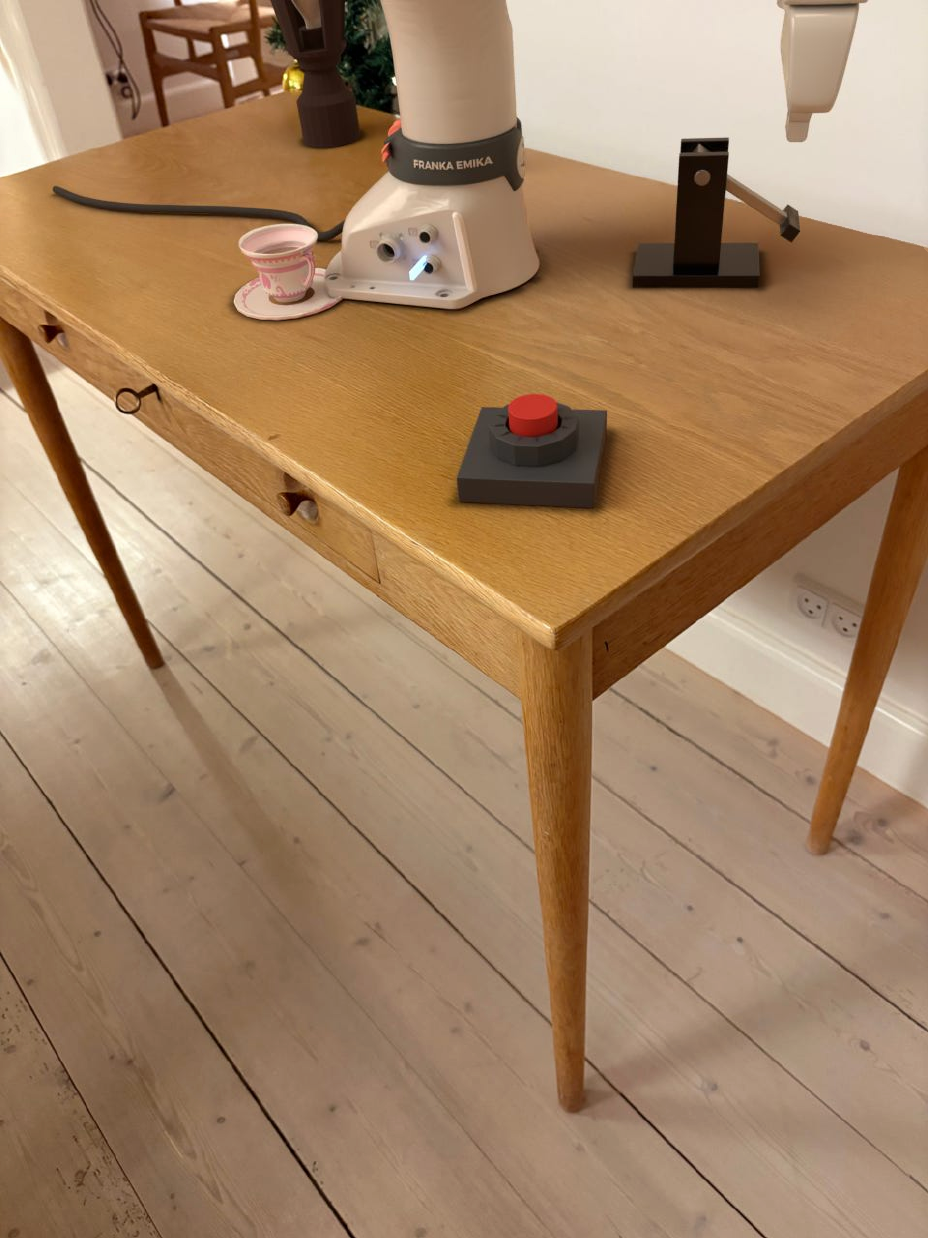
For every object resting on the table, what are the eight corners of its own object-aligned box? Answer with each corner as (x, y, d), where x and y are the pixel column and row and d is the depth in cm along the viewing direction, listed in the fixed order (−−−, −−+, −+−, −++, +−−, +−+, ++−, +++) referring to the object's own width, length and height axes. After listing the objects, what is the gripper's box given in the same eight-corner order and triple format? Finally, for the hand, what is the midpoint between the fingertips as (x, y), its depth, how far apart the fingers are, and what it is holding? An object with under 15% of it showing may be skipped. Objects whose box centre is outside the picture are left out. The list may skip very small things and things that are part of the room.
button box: (459, 502, 75) (454, 456, 72) (483, 430, 82) (479, 386, 79) (594, 508, 73) (594, 461, 70) (607, 434, 80) (607, 389, 77)
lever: (785, 227, 99) (802, 206, 97) (787, 247, 95) (804, 226, 94) (683, 160, 97) (699, 138, 95) (681, 179, 93) (697, 155, 92)
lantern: (387, 147, 139) (352, -122, 119) (280, 161, 138) (227, -106, 118) (379, 116, 150) (346, -134, 130) (280, 129, 149) (231, -120, 129)
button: (505, 438, 74) (504, 417, 73) (513, 413, 77) (512, 392, 76) (554, 440, 73) (553, 419, 72) (560, 414, 76) (560, 393, 75)
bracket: (757, 253, 103) (770, 130, 95) (758, 287, 97) (772, 159, 89) (637, 254, 105) (641, 134, 97) (632, 287, 99) (635, 162, 92)
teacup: (211, 305, 105) (195, 247, 101) (297, 264, 111) (285, 207, 107) (286, 333, 99) (273, 271, 95) (372, 287, 105) (363, 228, 101)
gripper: (778, -66, 90) (757, 102, 99) (786, -16, 75) (761, 175, 85) (852, -68, 89) (824, 102, 98) (875, -19, 74) (840, 176, 83)
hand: (795, 136), depth 91 cm, fingers closed
